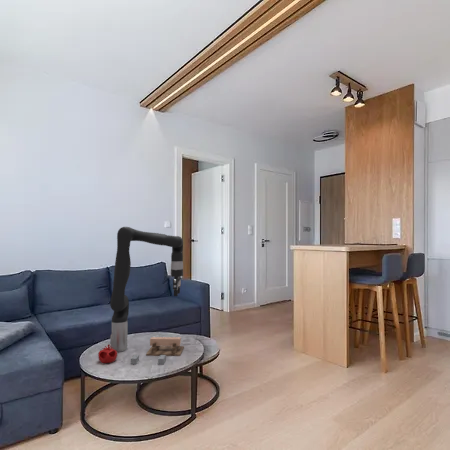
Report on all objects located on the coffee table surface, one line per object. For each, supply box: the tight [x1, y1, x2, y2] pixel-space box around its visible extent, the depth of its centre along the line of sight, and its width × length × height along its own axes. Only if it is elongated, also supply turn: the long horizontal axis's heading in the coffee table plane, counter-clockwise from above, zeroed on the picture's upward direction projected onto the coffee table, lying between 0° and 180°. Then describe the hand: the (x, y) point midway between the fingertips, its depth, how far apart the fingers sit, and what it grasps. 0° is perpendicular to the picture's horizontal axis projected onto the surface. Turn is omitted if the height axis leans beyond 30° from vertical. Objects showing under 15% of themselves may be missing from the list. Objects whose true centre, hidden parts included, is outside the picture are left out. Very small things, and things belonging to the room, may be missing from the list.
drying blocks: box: [130, 354, 167, 366], centre depth 186 cm, size 18×6×3 cm, turn 88°
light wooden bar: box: [149, 336, 182, 347], centre depth 203 cm, size 18×4×4 cm, turn 89°
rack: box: [145, 343, 185, 357], centre depth 203 cm, size 20×14×6 cm
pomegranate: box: [97, 344, 118, 364], centre depth 188 cm, size 10×10×9 cm
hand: (176, 294), depth 209 cm, fingers open, 8 cm apart
